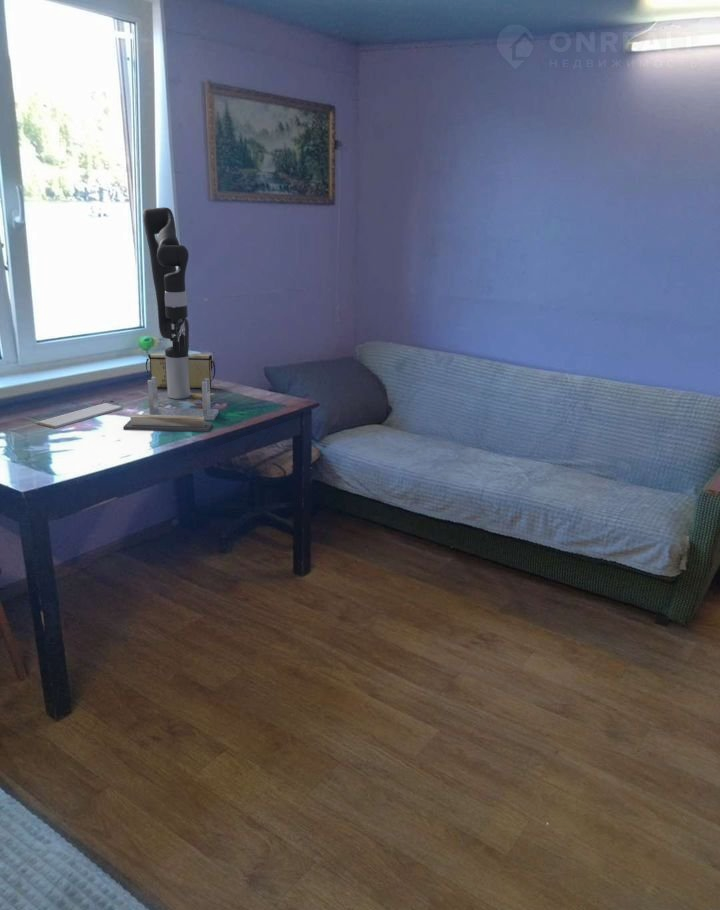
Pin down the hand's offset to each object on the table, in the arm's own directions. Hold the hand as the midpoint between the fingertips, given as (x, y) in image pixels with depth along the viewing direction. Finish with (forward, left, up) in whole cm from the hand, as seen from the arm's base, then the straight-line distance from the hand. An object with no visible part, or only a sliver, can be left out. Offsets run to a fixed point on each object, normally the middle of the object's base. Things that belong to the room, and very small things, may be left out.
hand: (179, 349), depth 253 cm
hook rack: (-6, -2, -27) cm, 28 cm away
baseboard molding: (-3, -39, -28) cm, 48 cm away
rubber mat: (+9, -3, -27) cm, 28 cm away
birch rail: (+9, -3, -26) cm, 27 cm away
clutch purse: (-50, -12, -27) cm, 58 cm away
